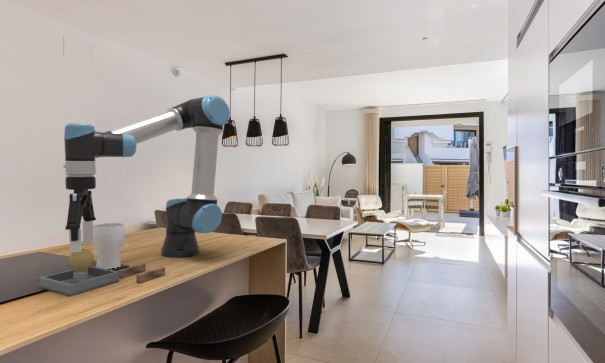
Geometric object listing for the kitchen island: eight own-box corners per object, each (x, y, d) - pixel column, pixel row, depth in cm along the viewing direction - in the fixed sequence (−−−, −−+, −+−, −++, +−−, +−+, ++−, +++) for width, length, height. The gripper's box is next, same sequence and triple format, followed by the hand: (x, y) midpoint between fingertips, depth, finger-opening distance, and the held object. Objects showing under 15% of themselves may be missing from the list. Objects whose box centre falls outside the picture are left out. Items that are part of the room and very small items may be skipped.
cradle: (143, 270, 118) (143, 263, 118) (165, 275, 114) (165, 267, 114) (116, 278, 109) (116, 270, 109) (139, 283, 105) (139, 275, 105)
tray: (89, 274, 112) (89, 265, 112) (118, 281, 106) (118, 272, 106) (39, 287, 99) (39, 277, 99) (69, 296, 93) (69, 285, 93)
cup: (83, 269, 118) (84, 225, 118) (111, 261, 128) (111, 222, 128) (105, 273, 114) (105, 228, 114) (132, 265, 124) (132, 224, 124)
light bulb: (93, 283, 102) (94, 249, 102) (67, 286, 98) (68, 251, 98) (92, 278, 107) (93, 246, 107) (67, 280, 103) (69, 247, 104)
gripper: (78, 174, 112) (79, 238, 113) (50, 177, 89) (52, 258, 90) (104, 174, 115) (105, 237, 116) (84, 177, 91) (85, 255, 92)
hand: (82, 246), depth 103 cm, fingers open, 13 cm apart
